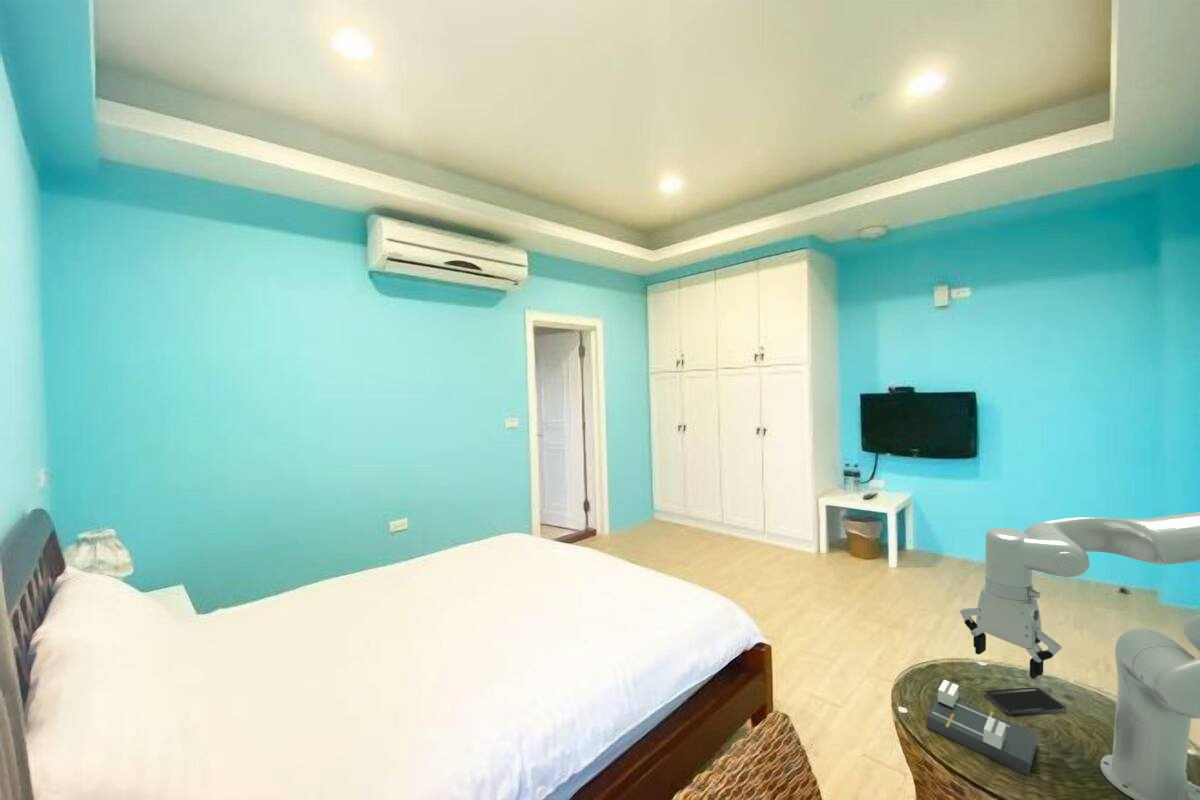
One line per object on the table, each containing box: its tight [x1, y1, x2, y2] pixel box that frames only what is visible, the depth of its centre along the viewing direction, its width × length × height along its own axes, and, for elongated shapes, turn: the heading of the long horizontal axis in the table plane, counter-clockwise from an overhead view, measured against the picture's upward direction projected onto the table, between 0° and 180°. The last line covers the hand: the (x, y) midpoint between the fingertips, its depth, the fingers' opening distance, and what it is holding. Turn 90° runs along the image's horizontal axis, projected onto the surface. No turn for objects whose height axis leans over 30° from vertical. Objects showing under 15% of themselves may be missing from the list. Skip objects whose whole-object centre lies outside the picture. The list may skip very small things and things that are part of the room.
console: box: [926, 697, 1038, 777], centre depth 110 cm, size 18×13×3 cm
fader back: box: [937, 679, 960, 708], centre depth 117 cm, size 3×5×3 cm, turn 132°
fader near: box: [983, 717, 1006, 750], centre depth 105 cm, size 3×5×3 cm, turn 132°
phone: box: [983, 686, 1067, 718], centre depth 120 cm, size 8×1×15 cm
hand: (1006, 663), depth 104 cm, fingers open, 9 cm apart
